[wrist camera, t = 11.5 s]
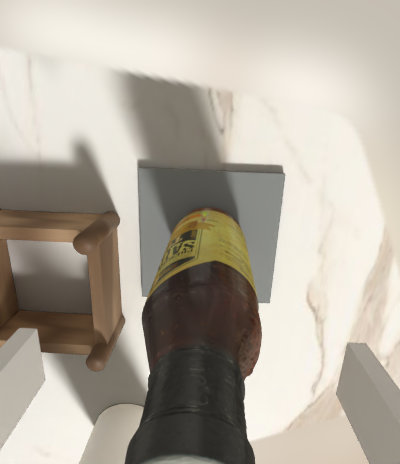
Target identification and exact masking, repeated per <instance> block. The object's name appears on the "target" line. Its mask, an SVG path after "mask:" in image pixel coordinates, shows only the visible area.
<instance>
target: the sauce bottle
mask: <svg viewBox="0 0 400 464" xmlns="http://www.w3.org/2000/svg"><path fill="white" fill-rule="evenodd" d="M258 309H259V307H258V299H257V293H256V288H255V283H254V279H253V274H252V270H251V265H250V260H249V255H248V250H247V245H246V240H245V236H244V234H243V232H242V230H241V227H240V226H239V224H238V222H237V221H236V220H235V219H234V218H233V217H232V216H231V215H230V214H228V213H227V212H225V211H223V210H221V209H218V208H214V207H205V208H199V209H195V210H193V211H192V212H190V213H189V214H187V215H186V216H185V217H184V218H183V219H182V220H180V222H179V223H178V224H177V225H176V227H175V228H174V230H173V232H172V235H171V237H170V240H169V243H168V245H167V248H166V251H165V253H164V255H163V258H162V261H161V263H160V265H159V268H158V271H157V273H156V276H155V279H154V282H153V284H152V287H151V289H150V292H149V294H148V298H147V300H146V303H145V305H144V308H143V312H142V325H143V331H144V337H145V343H146V350H147V357H148V363H149V369H150V375H149V377H148V392H147V397H146V401H145V406H144V409H143V414H142V417H141V421H140V424H139V428H138V429H137V431H136V432H135V434H134V435H133V437H132V439H131V440H130V442H129V445H128V448H127V453H126V458H125V464H255V457H254V453H253V449H252V447H251V445H250V443H249V441H248V439H247V433H246V428H247V427H246V420H245V413H244V402H243V400H244V397H245V385H244V380H245V378H246V377H247V376H249V375H250V374H251V373H252V372H253V369H254V367H255V364H256V362H257V360H258V357H259V353H260V347H261V339H262V331H261V330H262V329H261V322H260V318H259V313H258Z"/></svg>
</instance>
